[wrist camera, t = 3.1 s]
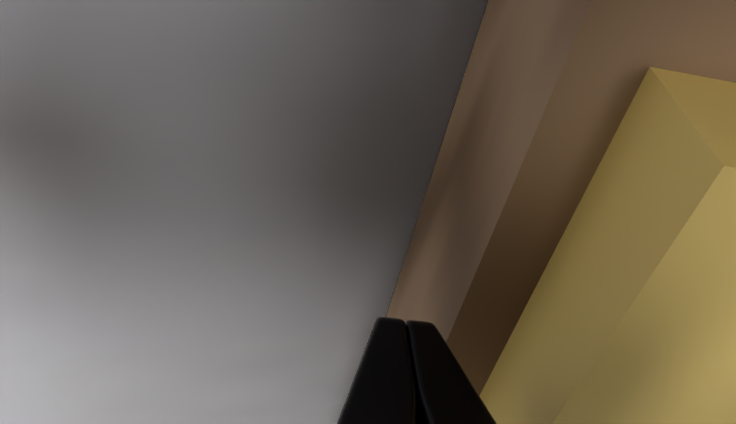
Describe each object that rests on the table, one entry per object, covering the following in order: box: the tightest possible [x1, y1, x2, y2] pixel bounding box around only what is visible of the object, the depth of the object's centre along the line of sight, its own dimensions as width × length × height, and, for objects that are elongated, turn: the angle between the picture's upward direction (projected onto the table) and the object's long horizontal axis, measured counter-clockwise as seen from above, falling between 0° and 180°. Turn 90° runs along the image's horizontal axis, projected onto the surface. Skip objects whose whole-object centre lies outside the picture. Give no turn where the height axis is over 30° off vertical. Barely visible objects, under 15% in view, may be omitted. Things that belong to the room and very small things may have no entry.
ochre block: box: [480, 67, 736, 424], centre depth 10 cm, size 9×6×2 cm, turn 169°
